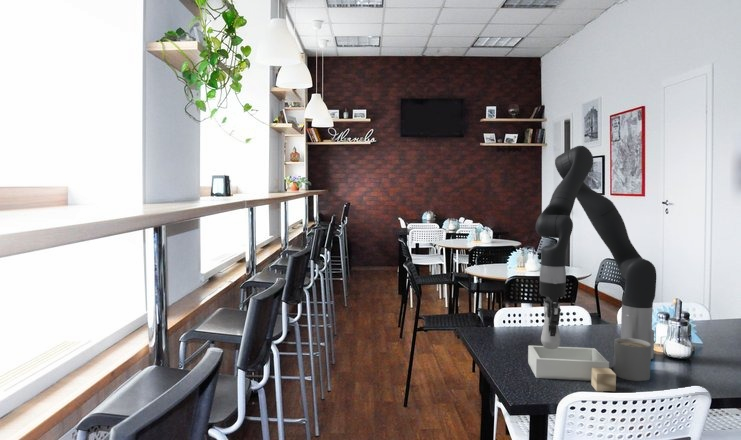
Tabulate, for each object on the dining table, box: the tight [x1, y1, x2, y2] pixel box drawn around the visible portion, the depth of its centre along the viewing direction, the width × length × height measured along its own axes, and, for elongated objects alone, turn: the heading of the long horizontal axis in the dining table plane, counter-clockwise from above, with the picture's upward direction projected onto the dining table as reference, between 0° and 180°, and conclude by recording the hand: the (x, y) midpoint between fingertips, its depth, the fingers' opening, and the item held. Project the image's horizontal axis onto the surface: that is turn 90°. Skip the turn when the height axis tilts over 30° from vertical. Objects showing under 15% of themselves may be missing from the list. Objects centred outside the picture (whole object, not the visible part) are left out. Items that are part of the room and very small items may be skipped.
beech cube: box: [590, 368, 617, 392], centre depth 147 cm, size 5×5×5 cm
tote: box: [527, 345, 610, 382], centre depth 161 cm, size 20×14×6 cm
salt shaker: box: [540, 306, 562, 349], centre depth 162 cm, size 6×6×13 cm
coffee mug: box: [612, 337, 652, 382], centre depth 160 cm, size 13×10×10 cm
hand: (550, 335), depth 162 cm, fingers closed on salt shaker, 3 cm apart
